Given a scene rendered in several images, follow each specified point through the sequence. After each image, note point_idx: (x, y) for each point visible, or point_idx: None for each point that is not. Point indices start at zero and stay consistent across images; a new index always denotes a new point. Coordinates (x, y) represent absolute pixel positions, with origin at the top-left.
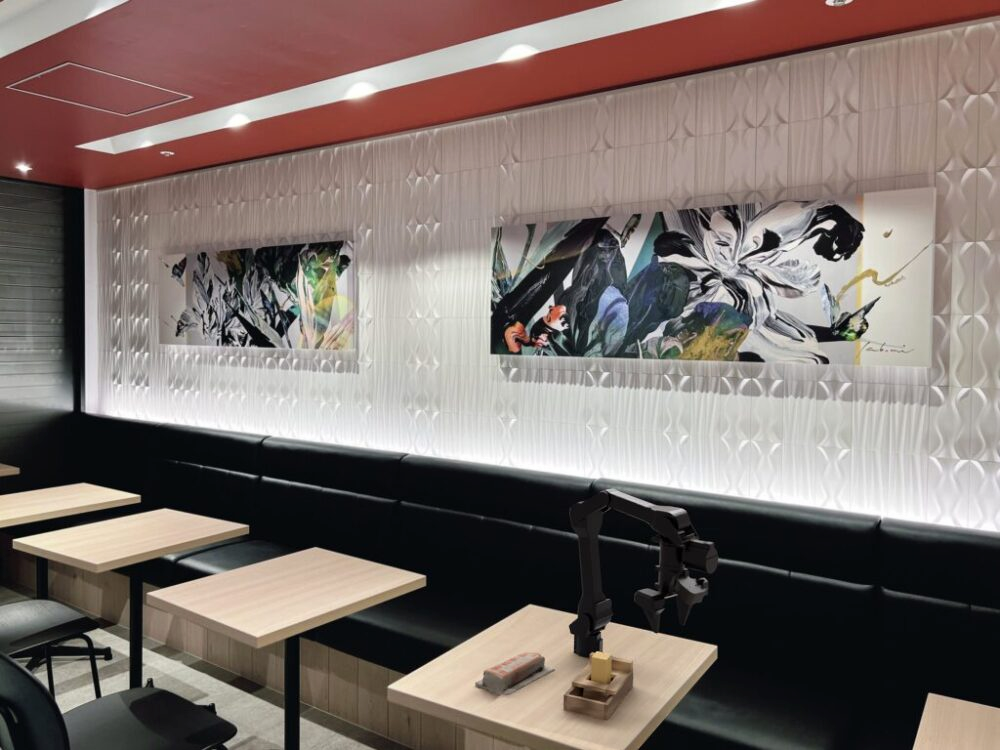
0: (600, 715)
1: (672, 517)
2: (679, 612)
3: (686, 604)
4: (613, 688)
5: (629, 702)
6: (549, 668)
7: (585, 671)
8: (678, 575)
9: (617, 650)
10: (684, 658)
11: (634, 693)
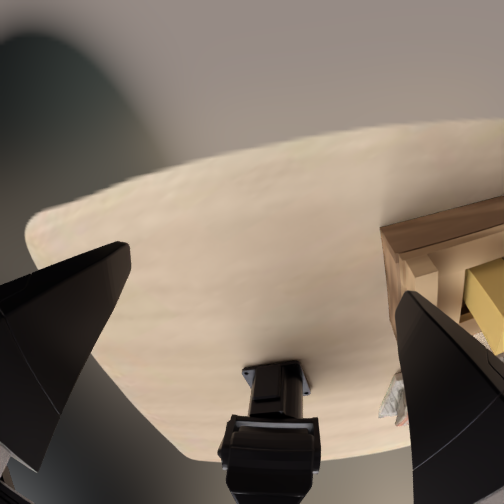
0: None
1: None
2: (91, 332)
3: (14, 344)
4: None
5: (448, 196)
6: (399, 384)
7: (471, 329)
8: None
9: (200, 356)
10: (96, 233)
11: (396, 212)
